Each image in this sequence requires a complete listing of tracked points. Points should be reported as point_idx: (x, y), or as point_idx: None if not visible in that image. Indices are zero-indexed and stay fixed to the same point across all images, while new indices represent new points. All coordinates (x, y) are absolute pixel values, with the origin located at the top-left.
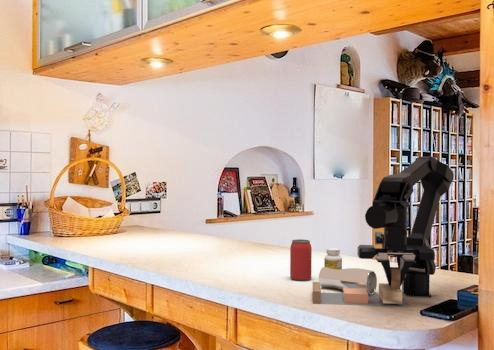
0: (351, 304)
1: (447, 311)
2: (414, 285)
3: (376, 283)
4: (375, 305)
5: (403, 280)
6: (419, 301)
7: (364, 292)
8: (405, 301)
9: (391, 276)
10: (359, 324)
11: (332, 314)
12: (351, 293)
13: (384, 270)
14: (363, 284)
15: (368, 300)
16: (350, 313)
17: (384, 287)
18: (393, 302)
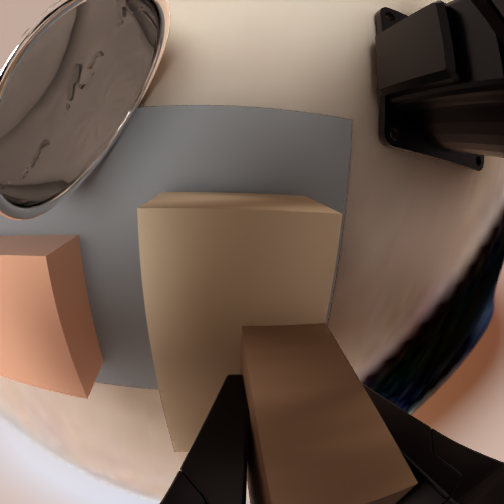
0: None
1: (426, 378)
2: (468, 142)
3: (164, 20)
4: (141, 385)
5: (432, 70)
6: (410, 247)
7: (58, 365)
8: (331, 292)
9: (249, 492)
10: (121, 489)
11: (34, 433)
12: (12, 377)
13: (173, 499)
14: (16, 200)
15: (96, 296)
16: (72, 436)
17: (185, 377)
18: None
